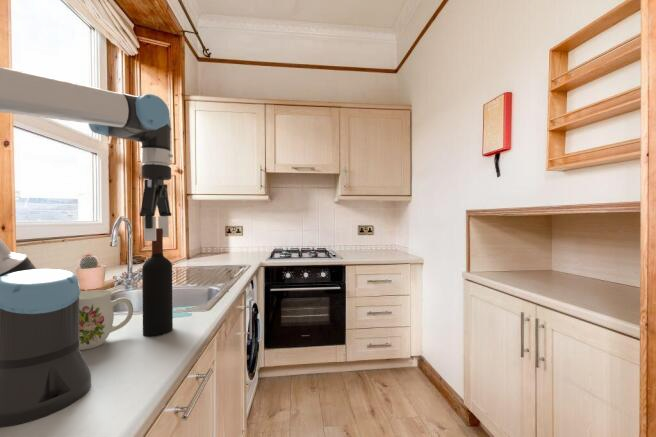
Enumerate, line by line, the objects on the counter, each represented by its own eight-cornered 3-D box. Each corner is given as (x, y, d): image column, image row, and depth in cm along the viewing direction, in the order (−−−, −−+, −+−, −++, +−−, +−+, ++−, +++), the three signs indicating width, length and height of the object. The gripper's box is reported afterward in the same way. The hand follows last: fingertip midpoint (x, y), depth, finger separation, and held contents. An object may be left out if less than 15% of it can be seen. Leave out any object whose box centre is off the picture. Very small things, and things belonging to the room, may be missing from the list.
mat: (203, 315, 103) (203, 315, 103) (164, 318, 100) (164, 318, 100) (208, 305, 115) (208, 305, 115) (173, 308, 112) (173, 307, 112)
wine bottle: (138, 338, 84) (137, 229, 84) (148, 328, 92) (147, 228, 91) (168, 335, 86) (167, 228, 86) (175, 326, 93) (174, 227, 93)
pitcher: (136, 341, 82) (136, 290, 82) (45, 362, 71) (44, 302, 70) (130, 329, 91) (129, 283, 91) (47, 346, 79) (47, 293, 79)
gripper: (158, 158, 77) (159, 242, 78) (179, 171, 101) (180, 235, 102) (125, 157, 75) (126, 243, 76) (154, 170, 99) (155, 236, 100)
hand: (157, 239), depth 89 cm, fingers open, 13 cm apart
